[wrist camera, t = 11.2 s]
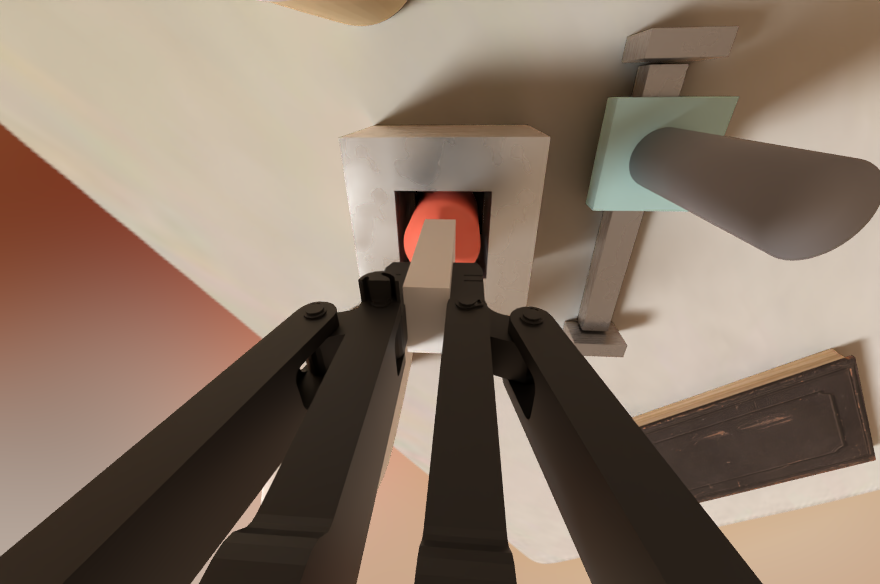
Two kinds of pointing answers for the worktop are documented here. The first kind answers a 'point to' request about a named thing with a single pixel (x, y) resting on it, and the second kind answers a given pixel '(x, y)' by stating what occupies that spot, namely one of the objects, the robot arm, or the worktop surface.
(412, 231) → the button
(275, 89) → the worktop surface
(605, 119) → the carriage
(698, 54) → the rail
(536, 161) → the grey block with hole
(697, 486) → the hardcover book
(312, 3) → the coffee cup
